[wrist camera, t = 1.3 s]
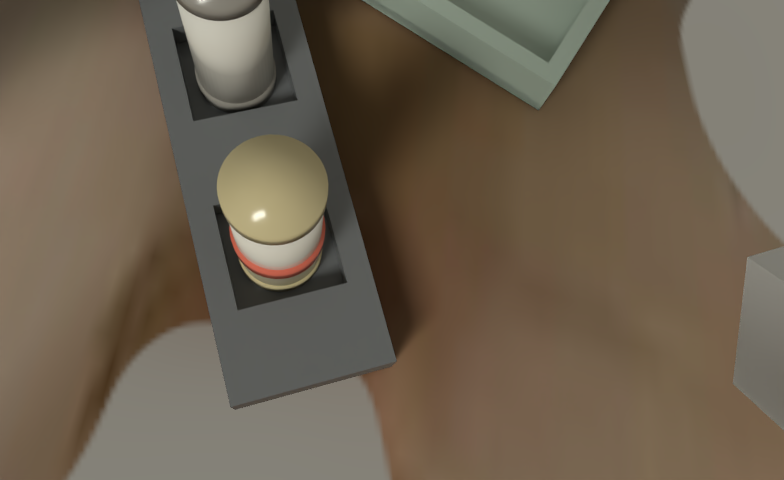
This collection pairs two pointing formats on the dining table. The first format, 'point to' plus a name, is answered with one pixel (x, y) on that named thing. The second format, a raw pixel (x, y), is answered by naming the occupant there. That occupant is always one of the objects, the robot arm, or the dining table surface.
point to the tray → (503, 36)
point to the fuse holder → (211, 229)
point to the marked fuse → (275, 209)
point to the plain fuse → (231, 51)
